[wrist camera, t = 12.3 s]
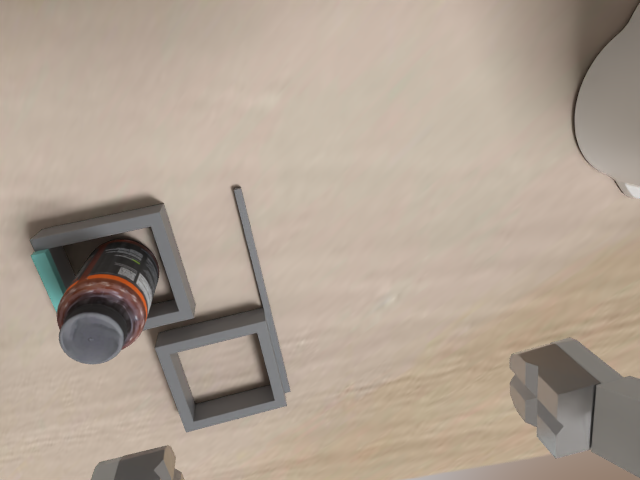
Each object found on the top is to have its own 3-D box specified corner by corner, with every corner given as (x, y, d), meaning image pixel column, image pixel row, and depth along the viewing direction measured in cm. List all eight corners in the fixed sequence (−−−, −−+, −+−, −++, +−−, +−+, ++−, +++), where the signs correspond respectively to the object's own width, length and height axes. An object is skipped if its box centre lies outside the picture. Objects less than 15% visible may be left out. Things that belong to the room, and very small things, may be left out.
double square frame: (240, 187, 40) (241, 197, 37) (289, 387, 48) (293, 409, 45) (41, 229, 38) (25, 243, 35) (128, 429, 47) (121, 455, 44)
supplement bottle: (91, 298, 41) (44, 379, 31) (85, 235, 39) (33, 299, 29) (161, 298, 42) (139, 376, 32) (160, 237, 40) (136, 299, 30)
